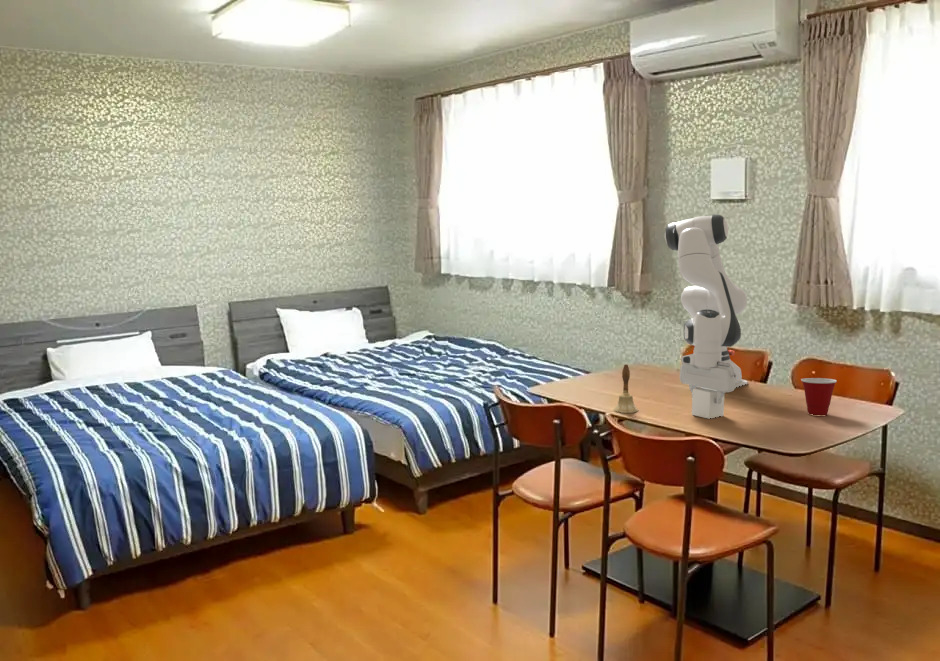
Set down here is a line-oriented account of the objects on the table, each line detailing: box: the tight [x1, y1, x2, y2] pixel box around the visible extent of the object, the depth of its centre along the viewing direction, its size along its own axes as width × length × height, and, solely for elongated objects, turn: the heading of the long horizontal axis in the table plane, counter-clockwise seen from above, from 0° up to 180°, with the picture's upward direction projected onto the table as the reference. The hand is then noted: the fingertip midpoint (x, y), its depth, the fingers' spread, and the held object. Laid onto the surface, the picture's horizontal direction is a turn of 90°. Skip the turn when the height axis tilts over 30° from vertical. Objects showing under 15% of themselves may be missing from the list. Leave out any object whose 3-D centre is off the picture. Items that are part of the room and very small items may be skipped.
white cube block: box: [691, 387, 725, 420], centre depth 271 cm, size 7×7×9 cm
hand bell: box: [613, 363, 639, 414], centre depth 280 cm, size 8×8×16 cm
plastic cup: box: [800, 377, 838, 416], centre depth 270 cm, size 11×11×12 cm
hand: (706, 400), depth 271 cm, fingers open, 8 cm apart
